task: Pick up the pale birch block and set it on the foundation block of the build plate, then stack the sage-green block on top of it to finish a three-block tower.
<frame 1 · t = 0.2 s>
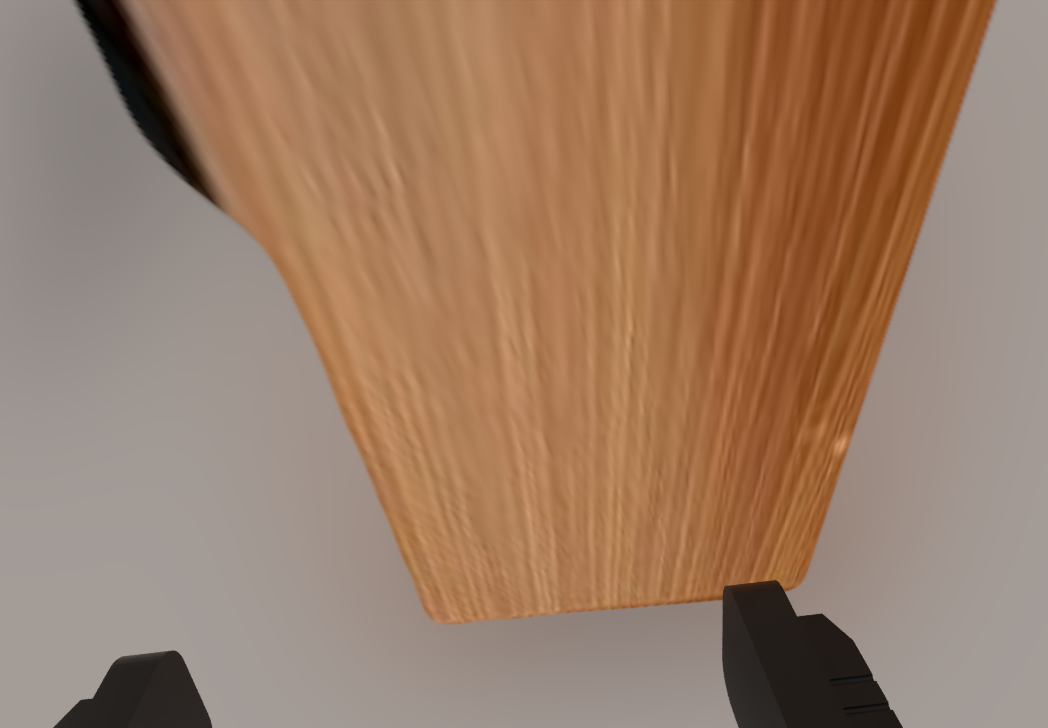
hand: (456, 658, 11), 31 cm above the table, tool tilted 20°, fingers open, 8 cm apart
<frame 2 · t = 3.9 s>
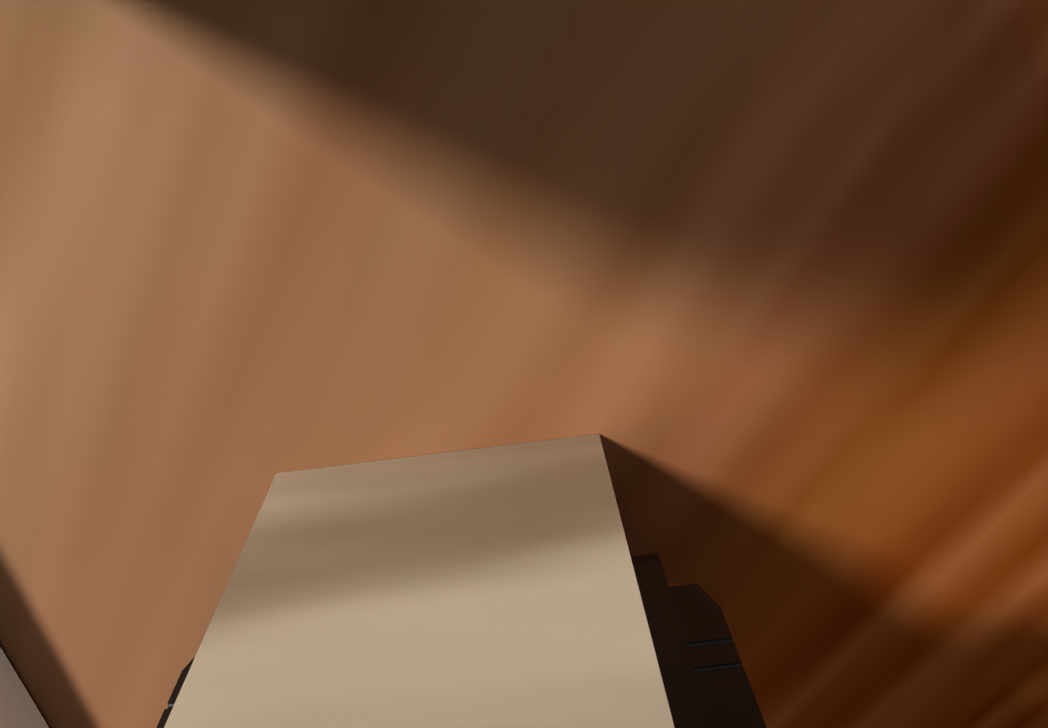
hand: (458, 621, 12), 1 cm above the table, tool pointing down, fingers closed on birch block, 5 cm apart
birch block: (462, 577, 12), on the table, touching gripper
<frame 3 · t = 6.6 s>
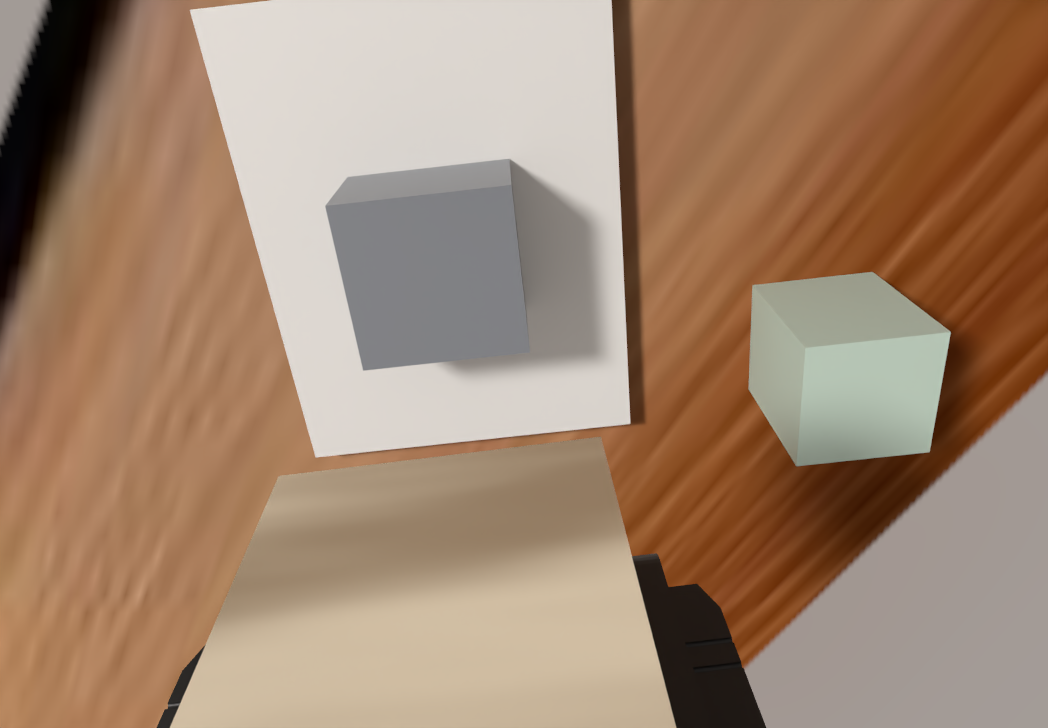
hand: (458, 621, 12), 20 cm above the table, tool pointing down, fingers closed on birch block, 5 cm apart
birch block: (463, 579, 12), point 19 cm above the table, touching gripper
build plate: (442, 238, 29), on the table
sage block: (807, 332, 32), on the table
when the fingers open (7 cm above the table, at t = 9.5 s): birch block drops 1 cm, resting on build plate.
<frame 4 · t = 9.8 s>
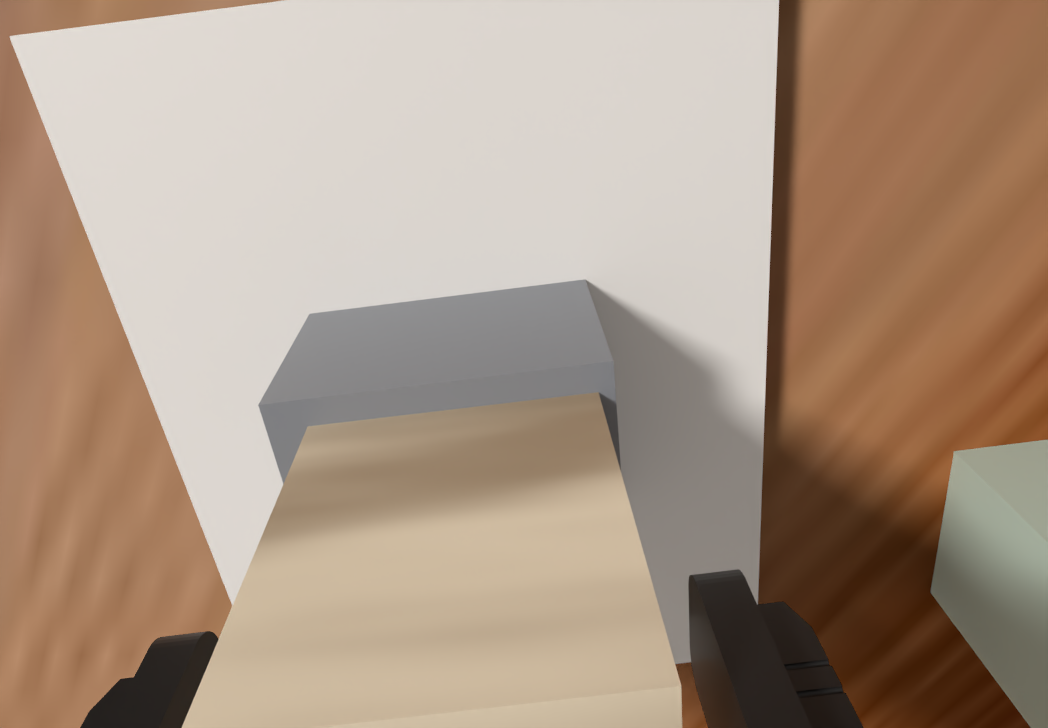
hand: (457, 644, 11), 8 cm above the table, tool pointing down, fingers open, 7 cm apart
birch block: (473, 525, 14), point 5 cm above the table, touching build plate
build plate: (468, 395, 18), on the table
sage block: (1029, 513, 21), on the table
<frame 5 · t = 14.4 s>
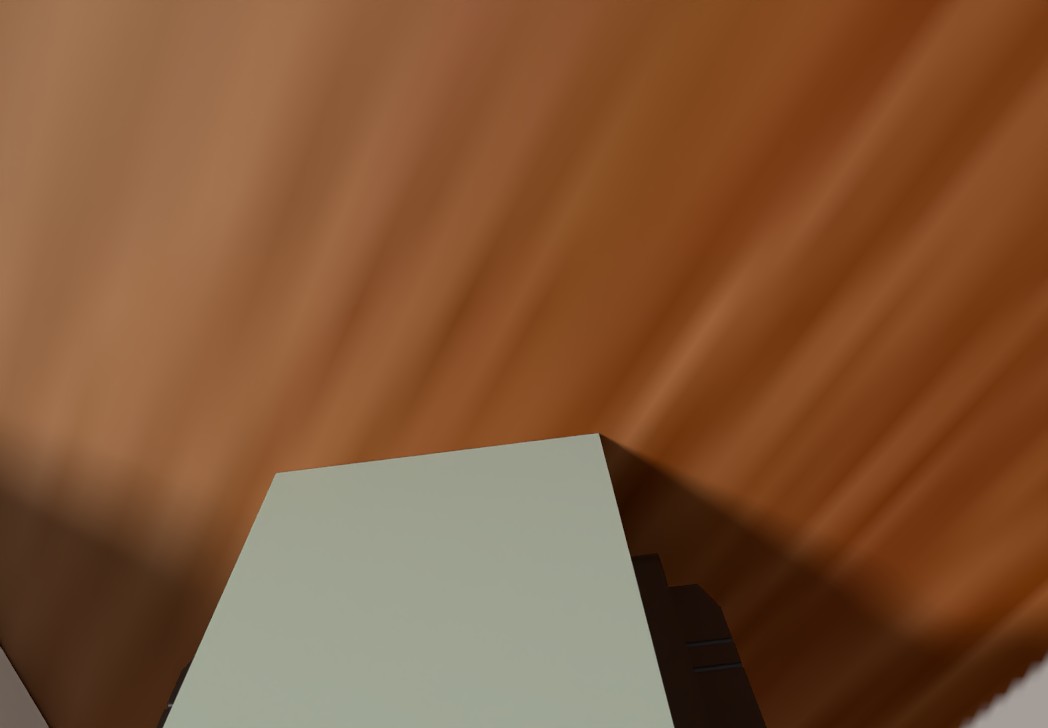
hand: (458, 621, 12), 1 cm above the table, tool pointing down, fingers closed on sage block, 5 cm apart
sage block: (462, 576, 12), on the table, touching gripper
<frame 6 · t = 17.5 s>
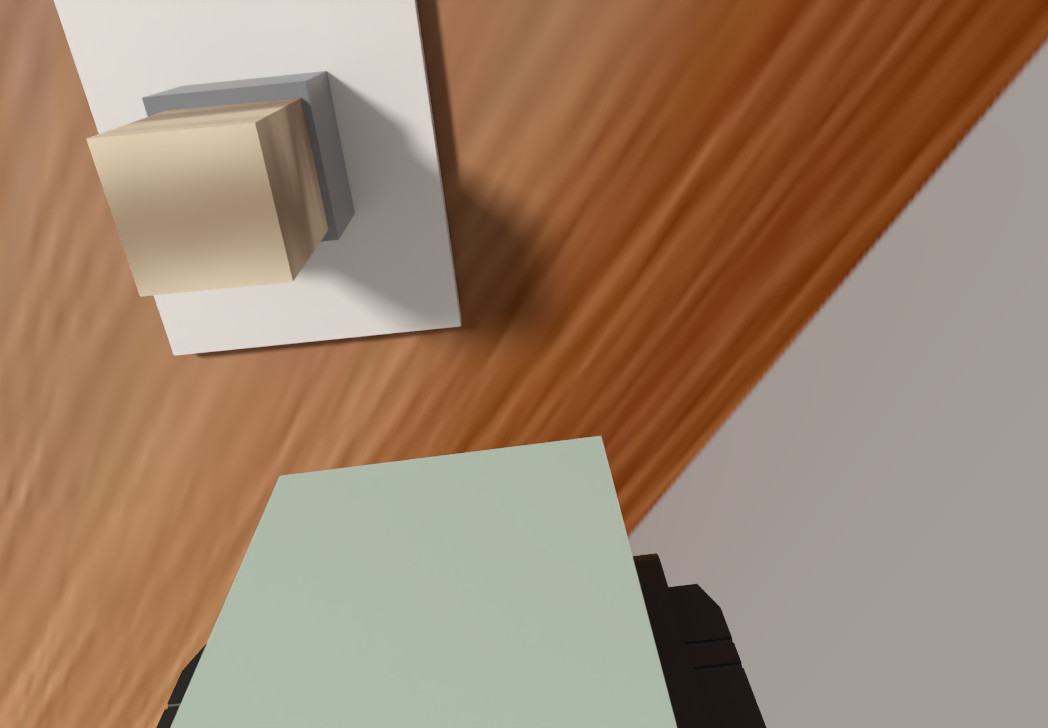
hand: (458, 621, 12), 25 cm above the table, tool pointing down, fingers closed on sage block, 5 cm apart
birch block: (250, 172, 28), point 5 cm above the table, touching build plate
build plate: (278, 148, 33), on the table
sage block: (464, 579, 13), point 24 cm above the table, touching gripper
when the fingers open (13 cm above the table, at t = 20.8 s): sage block drops 1 cm, resting on birch block.
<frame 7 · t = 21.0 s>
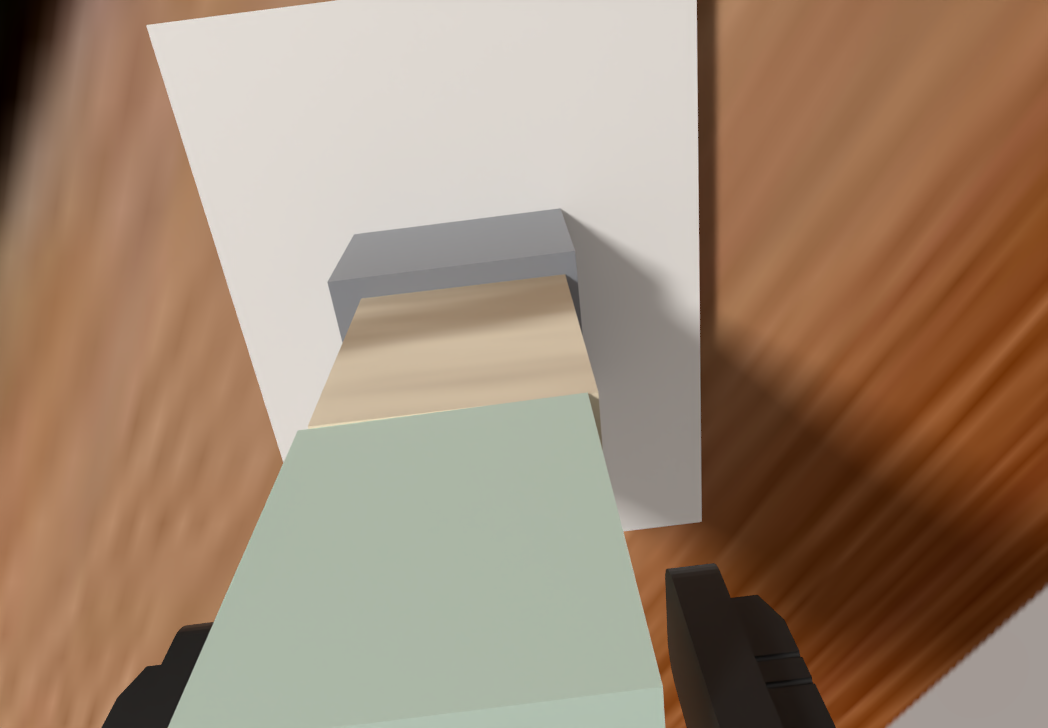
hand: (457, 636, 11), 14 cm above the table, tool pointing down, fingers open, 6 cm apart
birch block: (477, 376, 19), point 5 cm above the table, touching build plate, sage block
build plate: (472, 304, 24), on the table
sage block: (465, 526, 14), point 11 cm above the table, touching birch block
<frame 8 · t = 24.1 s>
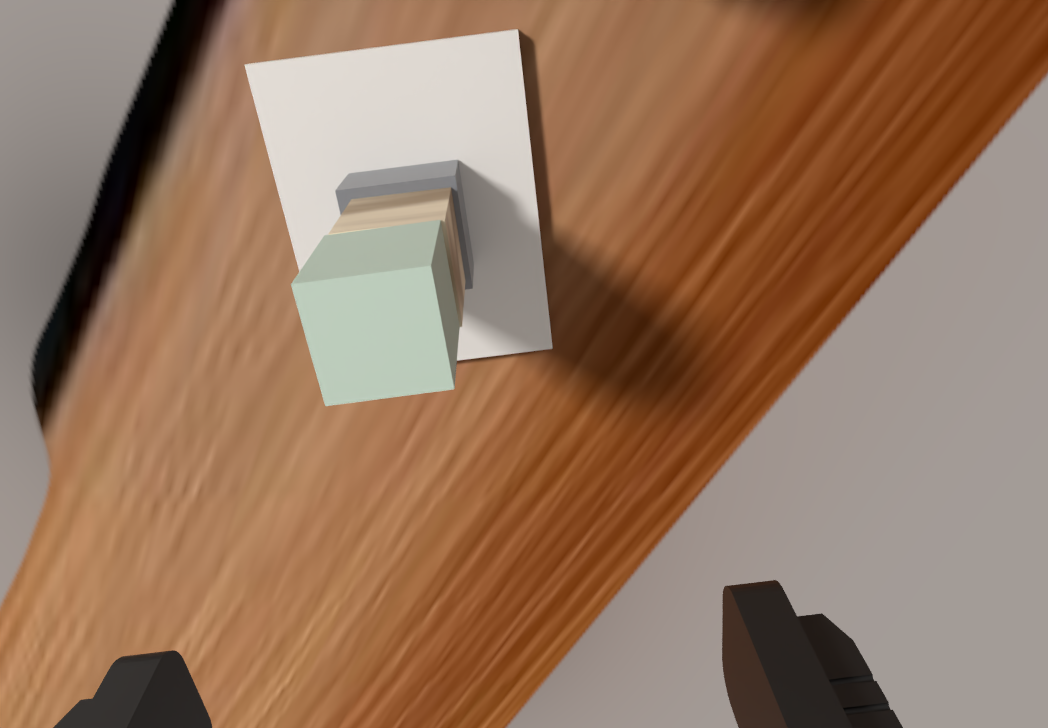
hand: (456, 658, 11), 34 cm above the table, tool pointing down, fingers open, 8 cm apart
birch block: (410, 241, 38), point 5 cm above the table, touching build plate, sage block
build plate: (414, 215, 42), on the table
sage block: (394, 282, 33), point 11 cm above the table, touching birch block
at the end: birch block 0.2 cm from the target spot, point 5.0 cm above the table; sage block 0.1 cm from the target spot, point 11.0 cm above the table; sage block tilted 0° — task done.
